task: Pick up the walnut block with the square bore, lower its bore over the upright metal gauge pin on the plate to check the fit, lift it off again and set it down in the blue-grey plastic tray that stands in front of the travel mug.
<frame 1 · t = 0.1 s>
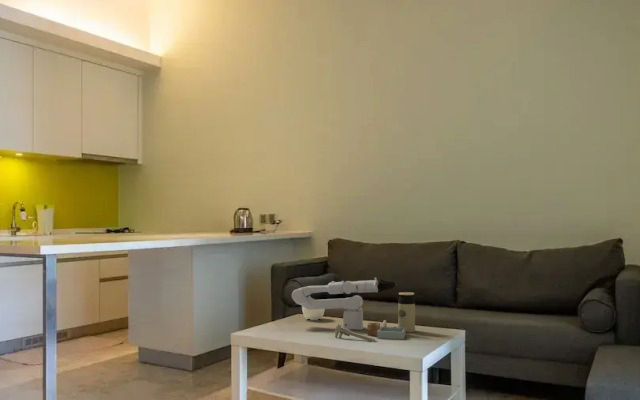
hand: (394, 285, 271), 22 cm above the table, tool horizontal, fingers open, 7 cm apart
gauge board: (385, 331, 267), on the table
tray: (391, 336, 254), on the table
caliper: (356, 340, 247), on the table
lidded bowl: (313, 319, 302), on the table
travel mug: (406, 331, 268), on the table
block: (373, 334, 258), on the table
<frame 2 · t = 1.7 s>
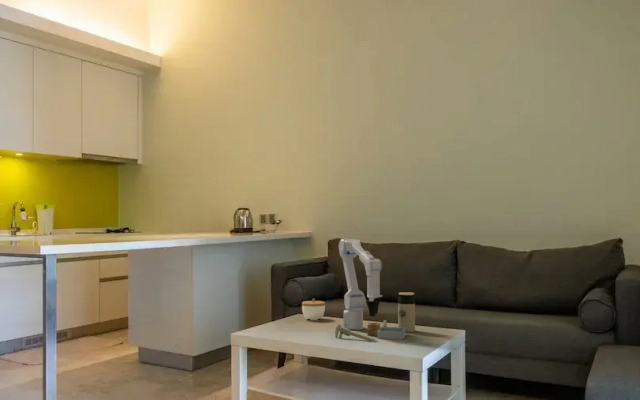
hand: (373, 315, 259), 9 cm above the table, tool pointing down, fingers open, 7 cm apart
nothing on the table moved.
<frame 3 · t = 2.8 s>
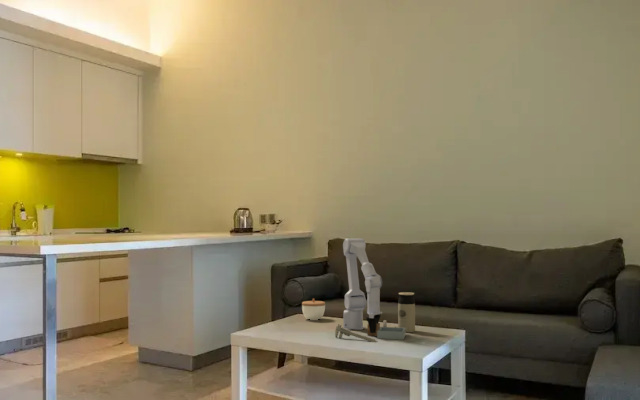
hand: (373, 331, 258), 1 cm above the table, tool pointing down, fingers closed on block, 5 cm apart
block: (373, 334, 258), on the table, touching gripper
everything else where it was.
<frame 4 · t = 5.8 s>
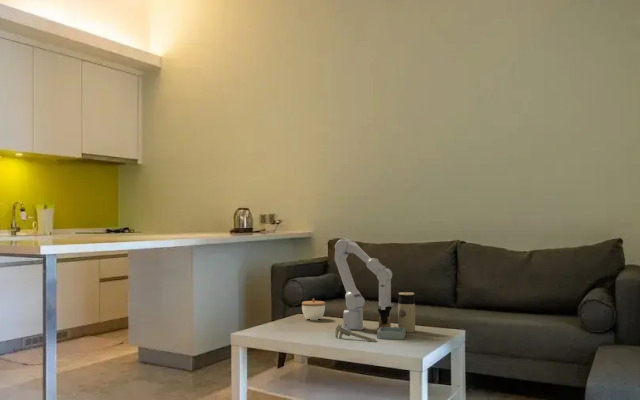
hand: (384, 322, 267), 4 cm above the table, tool pointing down, fingers closed on block, 5 cm apart
block: (384, 327, 267), point 2 cm above the table, touching gripper
everything else where it was.
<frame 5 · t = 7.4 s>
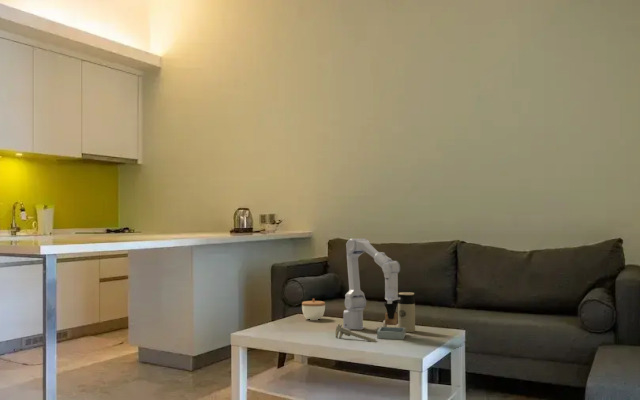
hand: (391, 317, 255), 8 cm above the table, tool pointing down, fingers closed on block, 5 cm apart
block: (391, 324, 255), point 6 cm above the table, touching gripper
everything else where it was.
when the fingers open (4 cm above the table, at t = 8.7 s): block stays where it is, resting on tray.
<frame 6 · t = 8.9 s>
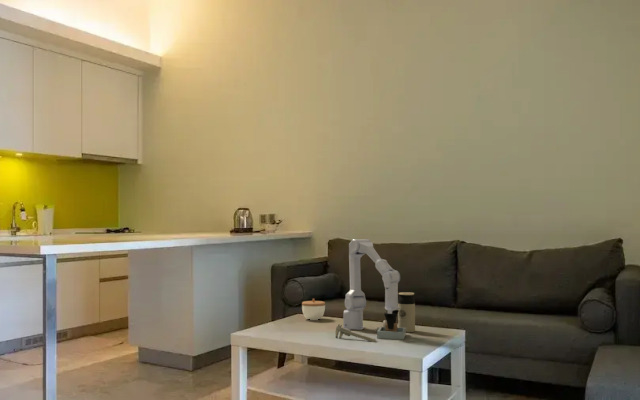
hand: (391, 327, 254), 4 cm above the table, tool pointing down, fingers open, 7 cm apart
block: (391, 335, 254), point 1 cm above the table, touching tray
everything else where it was.
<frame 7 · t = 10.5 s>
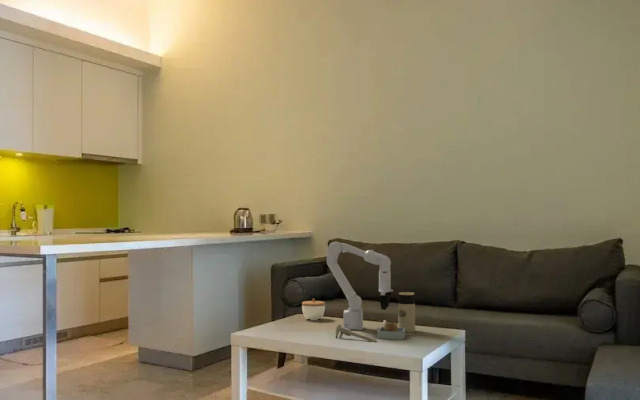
hand: (384, 308, 274), 10 cm above the table, tool pointing down, fingers open, 7 cm apart
nothing on the table moved.
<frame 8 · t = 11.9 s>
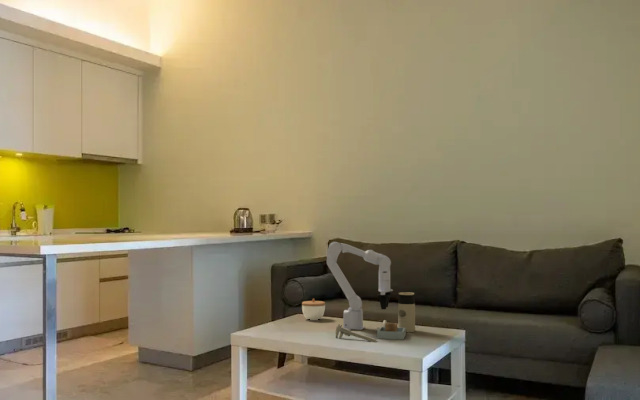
hand: (384, 308, 275), 10 cm above the table, tool pointing down, fingers open, 7 cm apart
nothing on the table moved.
at the end: block inside the target area on the tray (0.1 cm from its centre), point 0.6 cm above the tray's base; block tilted 0°; block 16.0 cm from the travel mug (horizontally) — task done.
